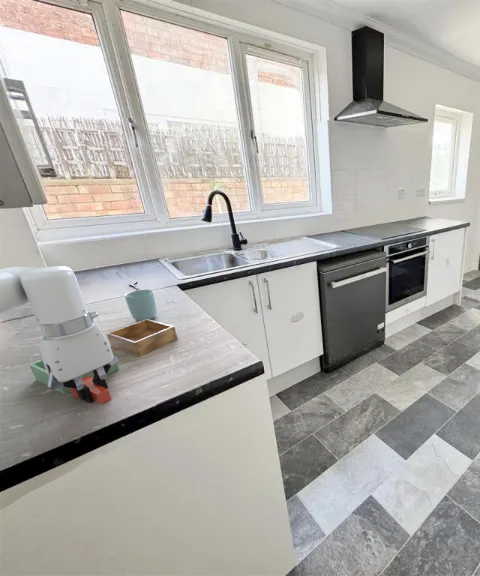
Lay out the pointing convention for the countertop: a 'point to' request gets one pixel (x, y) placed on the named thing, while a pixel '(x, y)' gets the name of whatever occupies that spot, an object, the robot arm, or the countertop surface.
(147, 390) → the countertop surface
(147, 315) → the cup
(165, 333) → the oak bin
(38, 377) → the sage bin
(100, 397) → the red t-shaped block
